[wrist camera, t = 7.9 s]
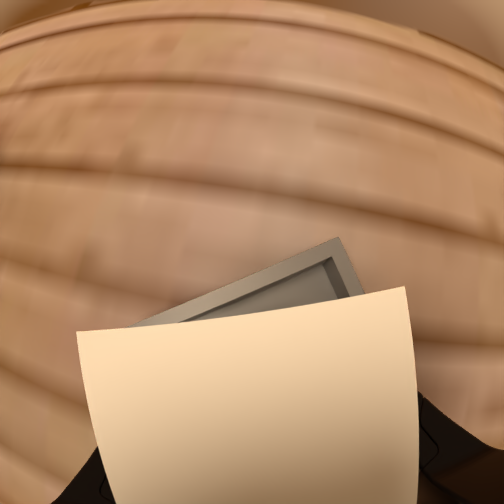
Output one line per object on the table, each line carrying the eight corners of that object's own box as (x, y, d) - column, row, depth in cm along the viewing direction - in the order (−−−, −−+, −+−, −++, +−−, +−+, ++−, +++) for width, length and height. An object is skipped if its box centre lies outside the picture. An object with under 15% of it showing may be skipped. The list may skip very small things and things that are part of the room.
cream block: (315, 402, 15) (412, 542, 3) (219, 415, 15) (146, 572, 3) (302, 309, 16) (404, 286, 4) (204, 323, 16) (76, 331, 4)
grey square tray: (223, 492, 17) (216, 518, 14) (143, 327, 19) (120, 329, 16) (396, 419, 18) (418, 435, 14) (325, 249, 20) (338, 236, 17)
